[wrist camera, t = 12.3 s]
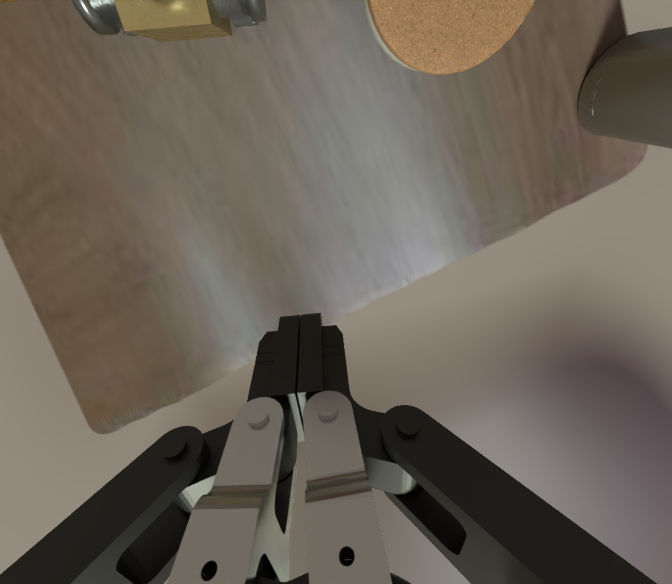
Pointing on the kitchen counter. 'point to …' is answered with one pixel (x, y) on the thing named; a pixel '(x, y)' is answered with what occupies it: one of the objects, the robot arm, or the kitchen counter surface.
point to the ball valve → (170, 17)
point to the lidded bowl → (444, 30)
